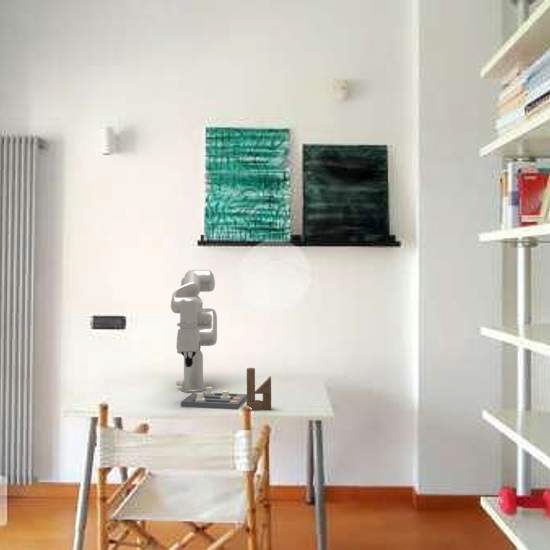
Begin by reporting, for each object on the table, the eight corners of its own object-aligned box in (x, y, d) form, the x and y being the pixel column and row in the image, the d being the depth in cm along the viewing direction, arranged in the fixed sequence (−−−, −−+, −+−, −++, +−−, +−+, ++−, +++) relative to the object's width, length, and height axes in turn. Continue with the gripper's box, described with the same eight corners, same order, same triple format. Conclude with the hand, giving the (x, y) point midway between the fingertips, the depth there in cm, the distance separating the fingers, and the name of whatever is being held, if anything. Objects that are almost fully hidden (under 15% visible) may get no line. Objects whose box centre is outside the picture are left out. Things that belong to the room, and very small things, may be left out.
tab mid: (220, 401, 253) (220, 391, 253) (222, 399, 256) (222, 390, 256) (228, 402, 253) (228, 392, 252) (230, 400, 256) (230, 390, 256)
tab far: (204, 397, 261) (204, 388, 261) (206, 395, 264) (206, 386, 264) (212, 397, 260) (212, 388, 260) (214, 396, 263) (214, 386, 263)
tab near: (194, 404, 249) (194, 394, 249) (197, 402, 252) (197, 392, 252) (203, 404, 249) (203, 394, 248) (205, 402, 252) (205, 392, 252)
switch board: (181, 406, 249) (180, 400, 249) (194, 397, 267) (194, 391, 267) (237, 409, 244) (237, 403, 244) (247, 399, 262) (247, 393, 262)
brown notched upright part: (271, 410, 243) (271, 368, 243) (246, 410, 242) (246, 369, 242) (270, 407, 247) (270, 367, 246) (246, 408, 246) (246, 367, 246)
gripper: (169, 326, 249) (170, 367, 249) (202, 326, 247) (202, 368, 247) (175, 324, 256) (175, 364, 257) (207, 325, 254) (207, 365, 254)
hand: (189, 366), depth 252 cm, fingers closed
